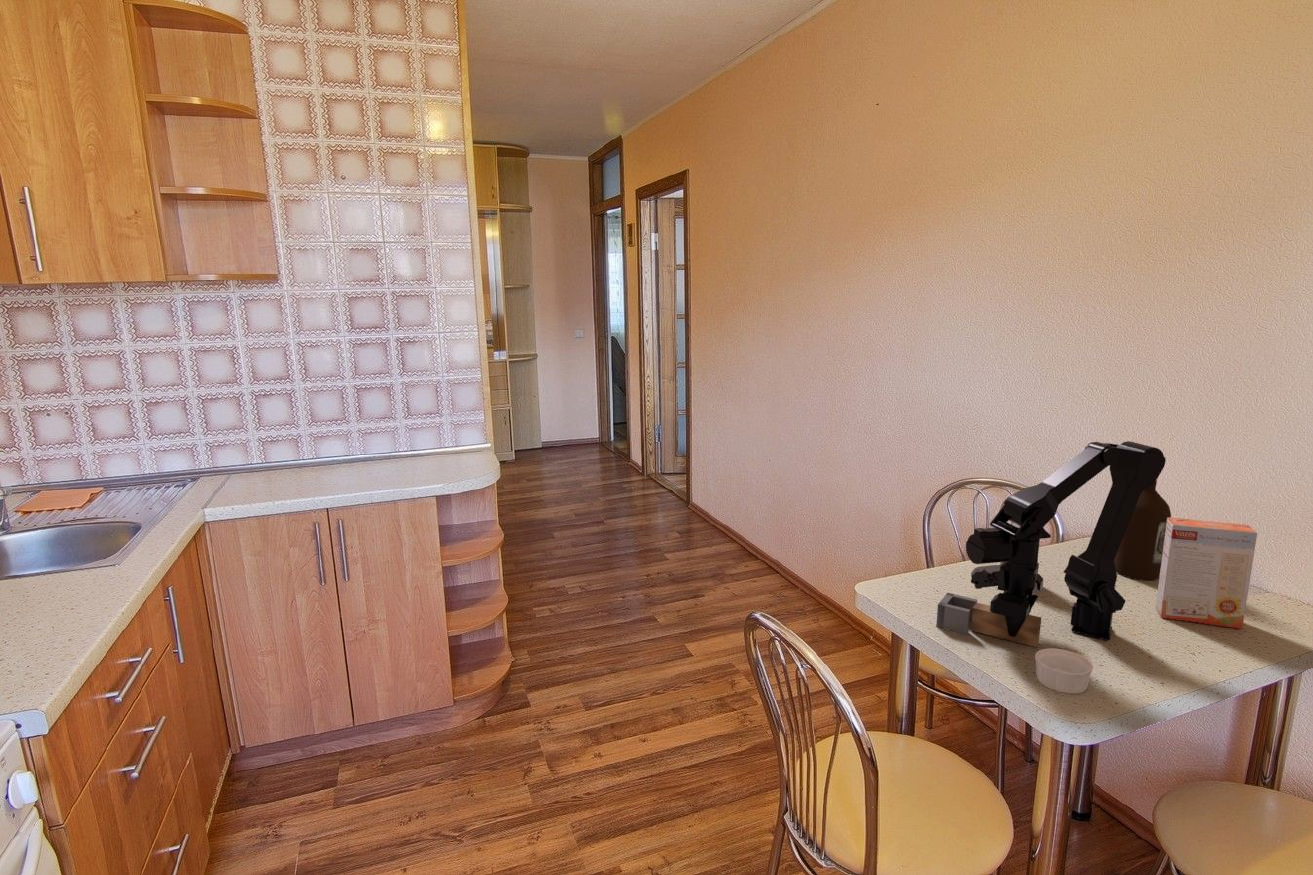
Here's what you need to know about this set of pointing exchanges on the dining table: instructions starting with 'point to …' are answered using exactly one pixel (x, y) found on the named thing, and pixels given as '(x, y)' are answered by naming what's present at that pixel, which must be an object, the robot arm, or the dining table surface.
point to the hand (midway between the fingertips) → (1013, 632)
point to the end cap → (955, 613)
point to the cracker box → (1206, 571)
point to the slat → (1004, 626)
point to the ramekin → (1062, 670)
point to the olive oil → (1144, 537)
